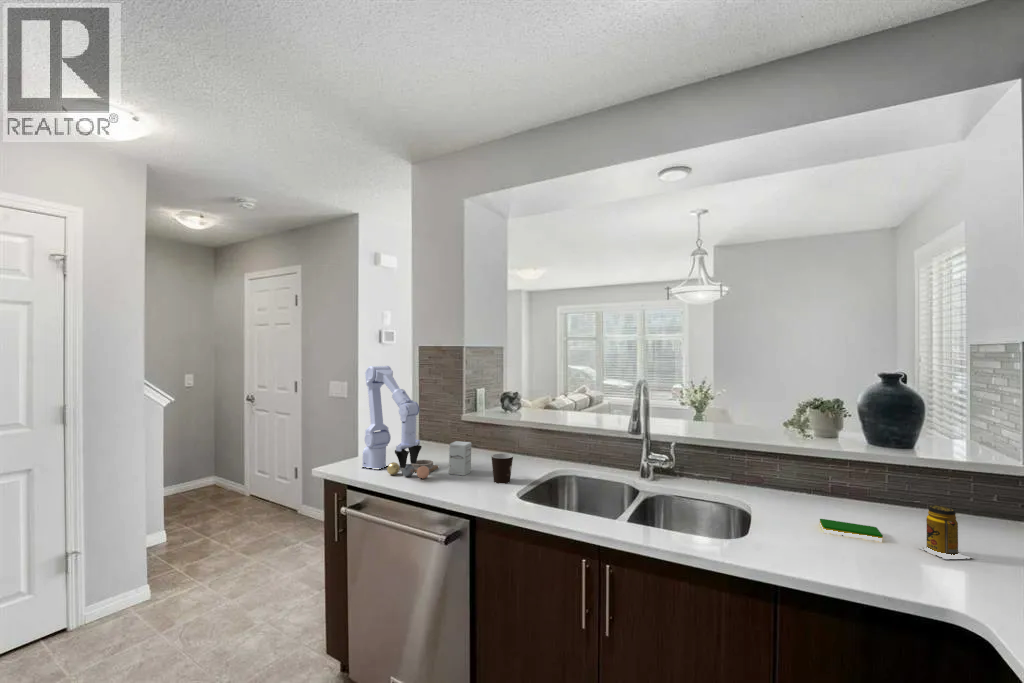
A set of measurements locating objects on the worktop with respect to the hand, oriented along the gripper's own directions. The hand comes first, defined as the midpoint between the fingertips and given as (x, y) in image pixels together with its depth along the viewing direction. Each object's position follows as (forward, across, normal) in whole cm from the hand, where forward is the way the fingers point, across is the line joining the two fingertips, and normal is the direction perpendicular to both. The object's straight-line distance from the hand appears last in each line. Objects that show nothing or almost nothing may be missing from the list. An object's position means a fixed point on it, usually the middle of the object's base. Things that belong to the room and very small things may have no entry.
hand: (408, 465), depth 184 cm
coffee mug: (+5, +10, -38) cm, 39 cm away
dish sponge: (+6, -1, -150) cm, 150 cm away
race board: (+4, +11, 0) cm, 12 cm away
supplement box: (+5, +13, -17) cm, 22 cm away
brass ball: (+2, 0, +7) cm, 7 cm away
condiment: (+6, -8, -169) cm, 169 cm away
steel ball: (+2, 0, 0) cm, 2 cm away
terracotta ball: (+2, 0, -7) cm, 7 cm away
